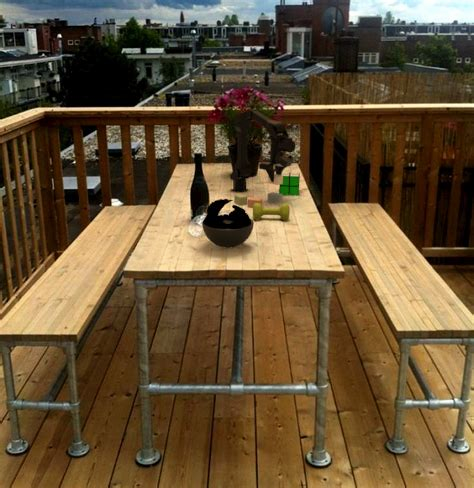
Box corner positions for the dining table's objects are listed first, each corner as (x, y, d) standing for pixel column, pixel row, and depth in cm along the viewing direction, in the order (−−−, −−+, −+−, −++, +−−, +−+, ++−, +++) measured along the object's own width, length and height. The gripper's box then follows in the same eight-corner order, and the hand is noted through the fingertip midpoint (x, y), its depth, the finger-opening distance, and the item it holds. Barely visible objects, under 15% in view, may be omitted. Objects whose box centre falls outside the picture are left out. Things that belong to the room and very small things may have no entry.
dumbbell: (288, 217, 286) (289, 201, 284) (289, 222, 279) (290, 206, 276) (252, 216, 287) (252, 201, 284) (252, 221, 279) (252, 205, 277)
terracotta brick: (247, 207, 300) (247, 199, 299) (250, 205, 304) (250, 197, 303) (259, 208, 298) (259, 200, 297) (262, 206, 302) (262, 198, 301)
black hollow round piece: (204, 237, 257) (203, 193, 251) (253, 238, 257) (254, 193, 251) (200, 254, 239) (199, 207, 232) (253, 255, 238) (253, 207, 232)
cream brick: (267, 183, 308) (268, 175, 306) (272, 181, 311) (273, 173, 309) (277, 185, 304) (278, 176, 303) (282, 183, 307) (282, 175, 306)
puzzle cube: (299, 190, 330) (299, 172, 327) (298, 195, 321) (299, 176, 318) (279, 190, 331) (280, 171, 328) (279, 195, 322) (279, 176, 318)
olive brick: (234, 202, 309) (234, 194, 307) (241, 201, 310) (241, 193, 309) (239, 205, 303) (239, 197, 302) (247, 204, 305) (247, 196, 304)
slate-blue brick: (267, 201, 310) (267, 193, 309) (272, 199, 314) (272, 192, 312) (277, 203, 307) (277, 195, 306) (282, 201, 310) (282, 194, 309)
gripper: (277, 154, 290) (276, 187, 295) (301, 148, 303) (300, 180, 308) (258, 151, 297) (258, 183, 302) (283, 146, 310) (282, 177, 315)
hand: (275, 181), depth 307 cm, fingers closed on cream brick, 4 cm apart
